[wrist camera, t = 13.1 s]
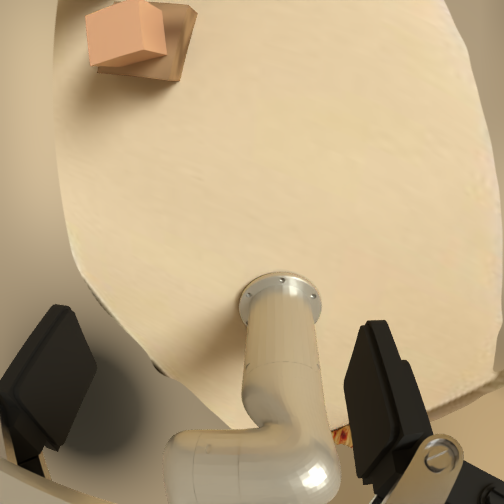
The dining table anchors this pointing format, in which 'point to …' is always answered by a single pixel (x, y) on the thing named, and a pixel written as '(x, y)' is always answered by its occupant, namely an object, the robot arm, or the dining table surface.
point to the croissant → (343, 436)
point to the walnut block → (177, 41)
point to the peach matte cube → (125, 34)
